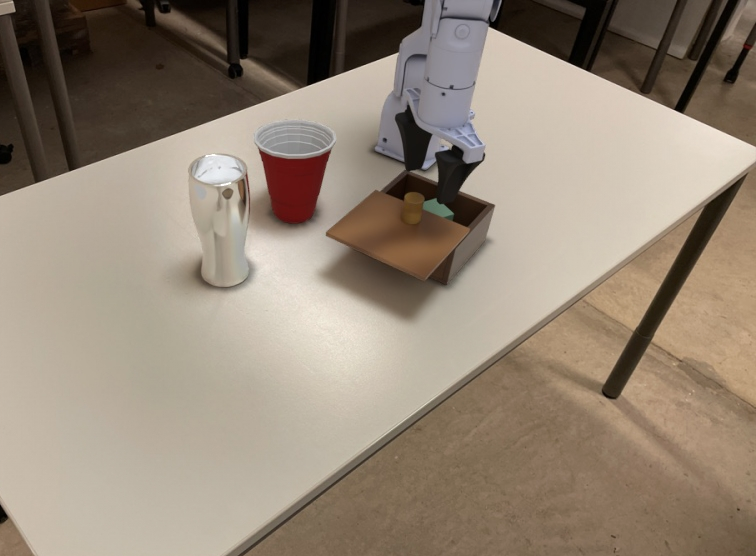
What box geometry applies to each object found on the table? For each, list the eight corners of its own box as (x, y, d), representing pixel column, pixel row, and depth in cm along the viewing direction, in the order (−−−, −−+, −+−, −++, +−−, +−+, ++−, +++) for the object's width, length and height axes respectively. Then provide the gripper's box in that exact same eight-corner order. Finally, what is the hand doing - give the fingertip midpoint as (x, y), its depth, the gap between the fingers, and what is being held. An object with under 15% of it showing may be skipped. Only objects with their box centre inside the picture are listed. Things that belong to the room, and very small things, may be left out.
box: (356, 244, 89) (360, 207, 85) (399, 204, 96) (405, 169, 91) (446, 285, 84) (455, 248, 80) (485, 240, 91) (495, 204, 86)
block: (407, 229, 91) (412, 204, 88) (431, 221, 92) (436, 197, 89) (424, 245, 88) (429, 221, 85) (448, 238, 90) (454, 213, 87)
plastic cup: (320, 185, 98) (324, 110, 90) (340, 229, 91) (347, 151, 83) (248, 193, 96) (246, 117, 88) (263, 238, 89) (261, 159, 80)
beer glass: (209, 296, 81) (199, 192, 70) (189, 263, 85) (177, 160, 74) (261, 280, 83) (259, 177, 72) (239, 248, 87) (234, 146, 77)
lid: (325, 236, 80) (327, 210, 77) (375, 193, 87) (378, 168, 84) (424, 281, 75) (430, 256, 72) (469, 232, 81) (475, 207, 79)
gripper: (519, 101, 69) (489, 210, 79) (445, 46, 78) (426, 149, 88) (462, 112, 67) (438, 222, 76) (393, 54, 76) (379, 159, 85)
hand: (428, 184), depth 82 cm, fingers open, 7 cm apart
